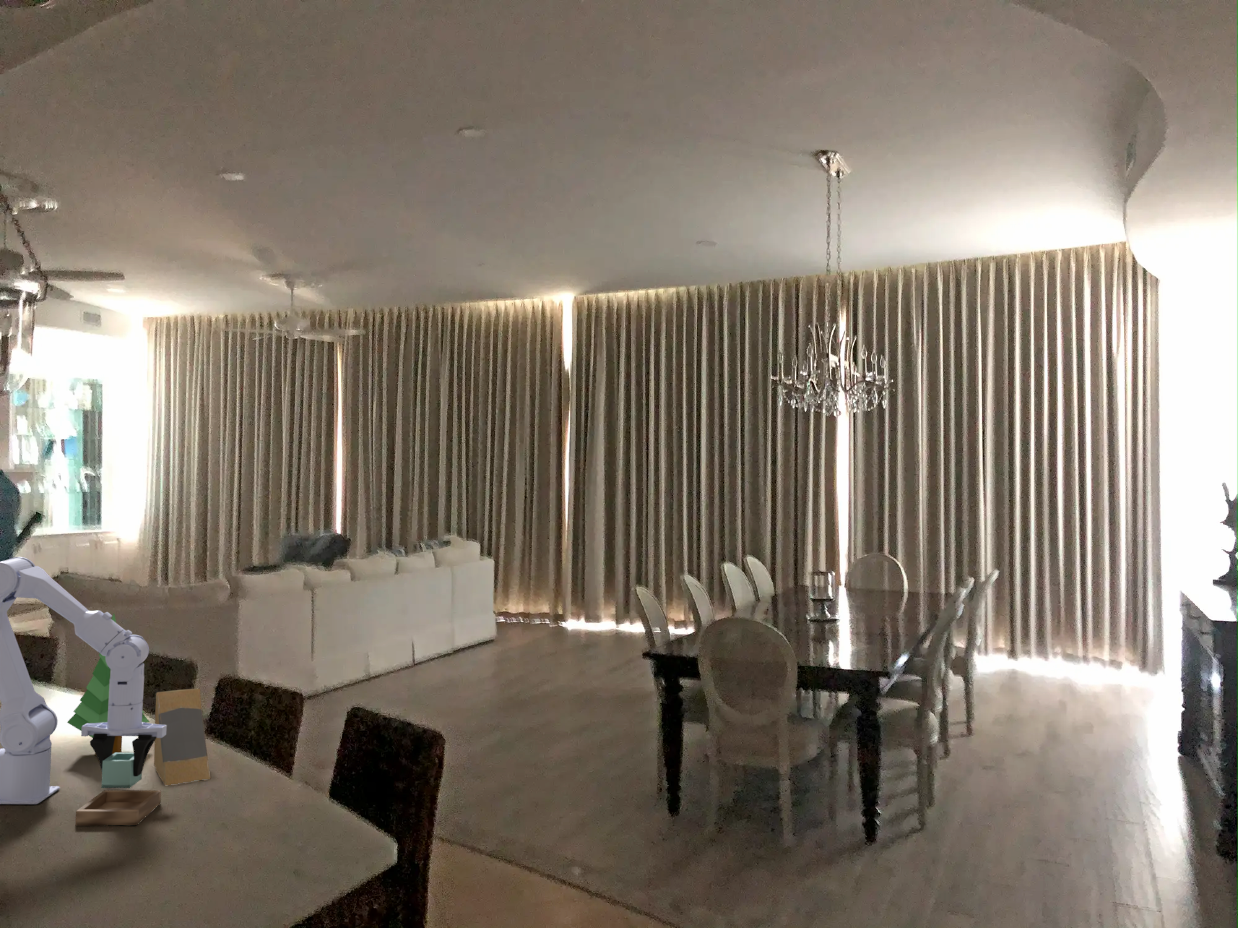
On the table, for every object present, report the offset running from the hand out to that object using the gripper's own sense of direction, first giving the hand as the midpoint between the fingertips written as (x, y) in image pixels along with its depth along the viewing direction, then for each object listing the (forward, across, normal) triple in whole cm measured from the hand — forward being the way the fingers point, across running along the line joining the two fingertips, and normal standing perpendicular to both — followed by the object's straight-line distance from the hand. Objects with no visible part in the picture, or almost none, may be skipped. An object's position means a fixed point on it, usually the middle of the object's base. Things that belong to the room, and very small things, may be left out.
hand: (122, 774), depth 169 cm
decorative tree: (+4, -13, +23) cm, 27 cm away
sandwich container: (+4, +6, +13) cm, 15 cm away
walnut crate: (+4, +4, -10) cm, 11 cm away
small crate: (+2, 0, 0) cm, 2 cm away
